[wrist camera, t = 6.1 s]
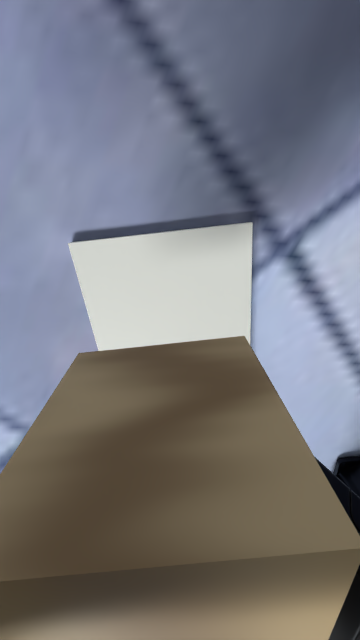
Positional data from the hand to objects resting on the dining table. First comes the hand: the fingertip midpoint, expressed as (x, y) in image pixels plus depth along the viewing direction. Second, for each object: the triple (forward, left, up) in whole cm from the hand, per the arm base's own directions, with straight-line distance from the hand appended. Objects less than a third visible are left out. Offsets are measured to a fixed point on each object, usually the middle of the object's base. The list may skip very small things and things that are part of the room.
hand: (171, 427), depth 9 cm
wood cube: (0, 0, -1) cm, 1 cm away
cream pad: (0, 0, -11) cm, 11 cm away
